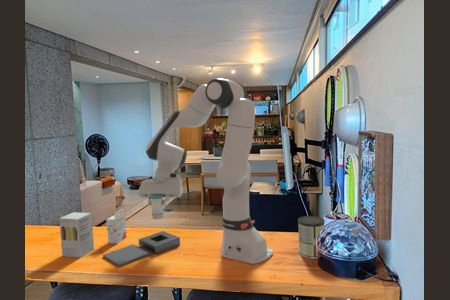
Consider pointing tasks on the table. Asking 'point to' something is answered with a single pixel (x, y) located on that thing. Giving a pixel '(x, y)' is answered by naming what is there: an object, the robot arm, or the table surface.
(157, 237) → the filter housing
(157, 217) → the teal-capped white cylinder
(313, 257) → the coffee can
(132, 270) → the table surface
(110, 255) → the rubber mat
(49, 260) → the table surface
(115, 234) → the ink cartridge box
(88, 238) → the supplement box
